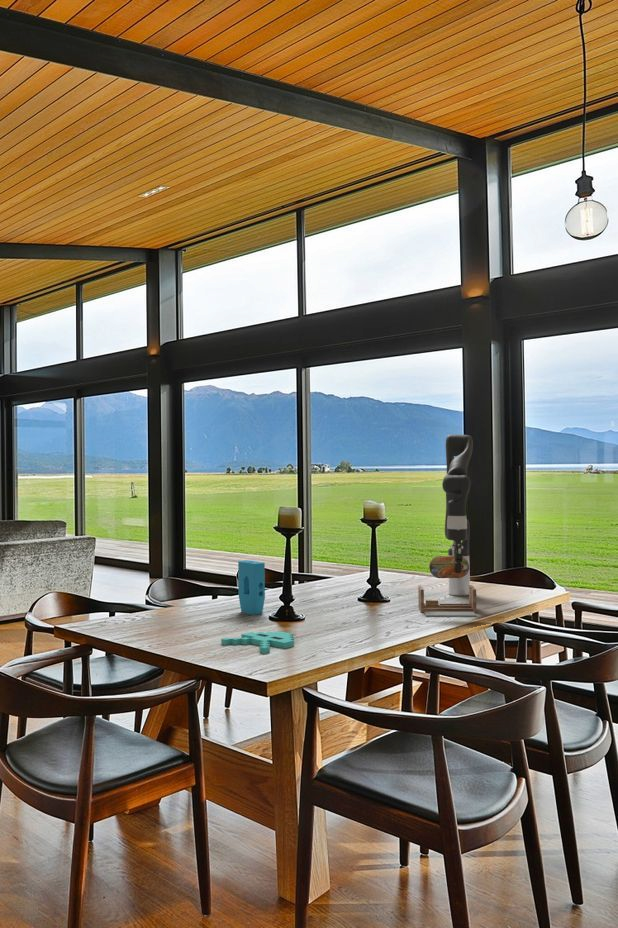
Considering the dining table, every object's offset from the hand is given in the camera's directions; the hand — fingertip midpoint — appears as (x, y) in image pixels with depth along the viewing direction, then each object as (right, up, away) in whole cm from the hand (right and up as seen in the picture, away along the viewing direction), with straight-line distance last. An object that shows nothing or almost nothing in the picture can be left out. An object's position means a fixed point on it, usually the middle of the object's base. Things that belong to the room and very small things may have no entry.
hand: (457, 572), depth 298 cm
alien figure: (-71, -18, -44) cm, 86 cm away
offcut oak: (-8, -15, +13) cm, 21 cm away
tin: (-3, -2, +1) cm, 4 cm away
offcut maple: (-8, -17, +13) cm, 23 cm away
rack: (-2, -16, +10) cm, 19 cm away
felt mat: (-3, -16, 0) cm, 17 cm away
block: (-79, -17, +9) cm, 82 cm away
